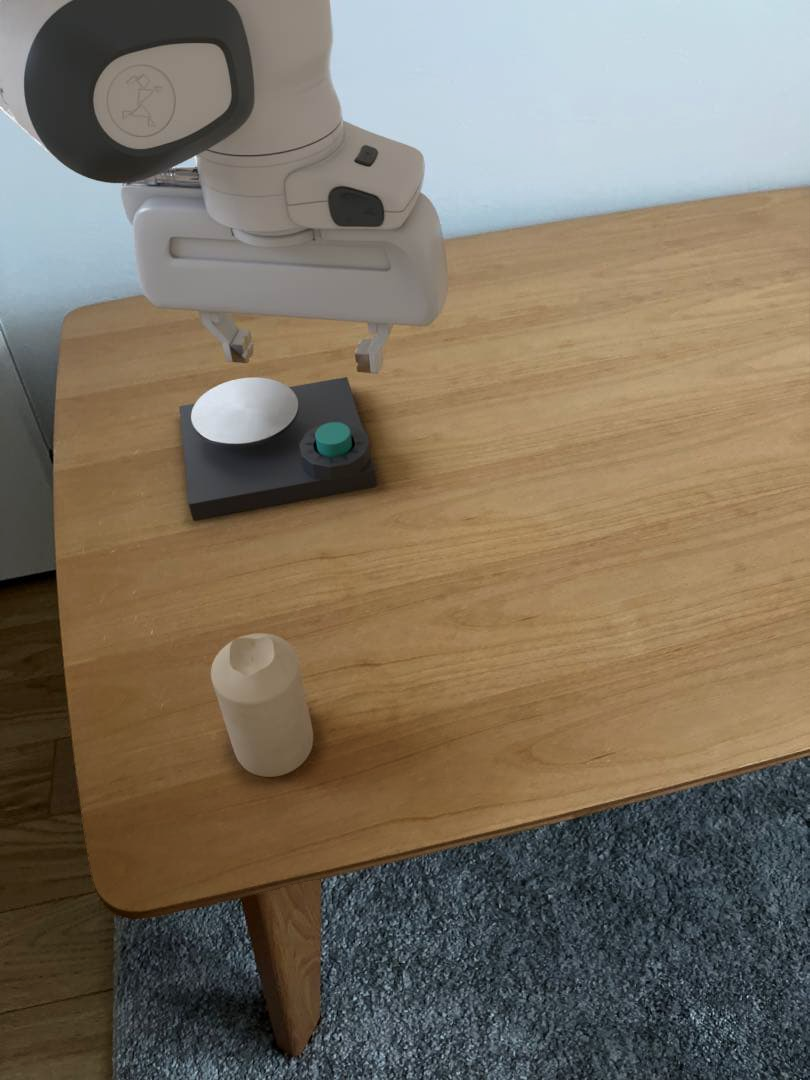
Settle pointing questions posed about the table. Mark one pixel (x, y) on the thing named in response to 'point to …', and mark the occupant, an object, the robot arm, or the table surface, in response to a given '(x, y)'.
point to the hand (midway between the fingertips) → (304, 363)
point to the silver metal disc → (244, 412)
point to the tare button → (333, 439)
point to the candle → (263, 703)
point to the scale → (278, 458)
